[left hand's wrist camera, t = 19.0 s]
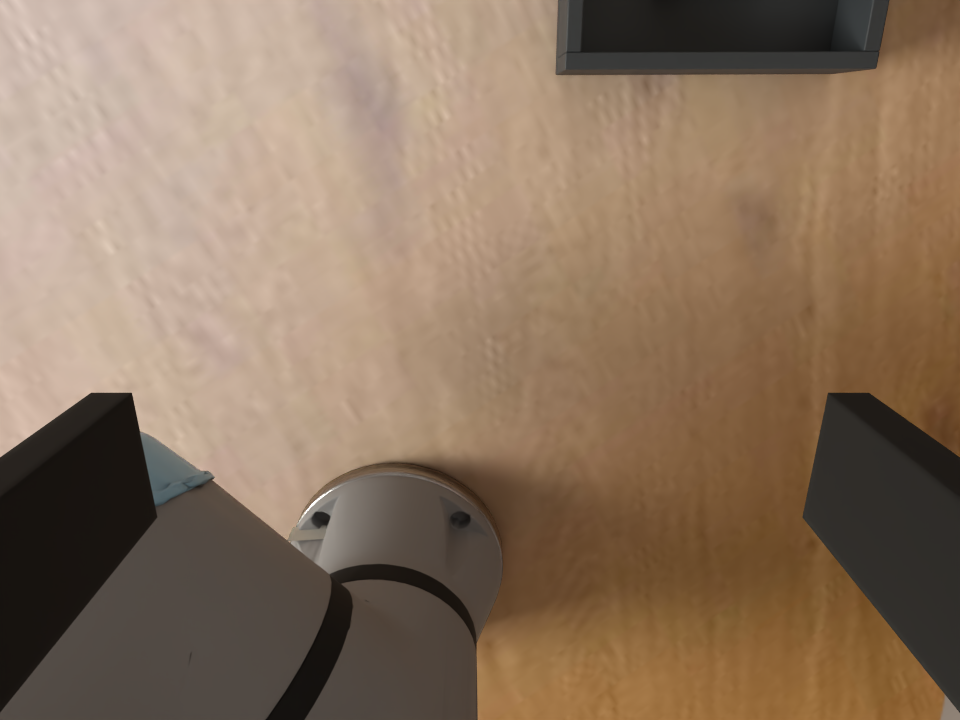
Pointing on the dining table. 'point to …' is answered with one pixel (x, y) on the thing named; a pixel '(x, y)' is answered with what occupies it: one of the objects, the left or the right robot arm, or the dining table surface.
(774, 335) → the dining table surface
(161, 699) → the left robot arm
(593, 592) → the dining table surface
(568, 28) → the tray
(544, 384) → the dining table surface
